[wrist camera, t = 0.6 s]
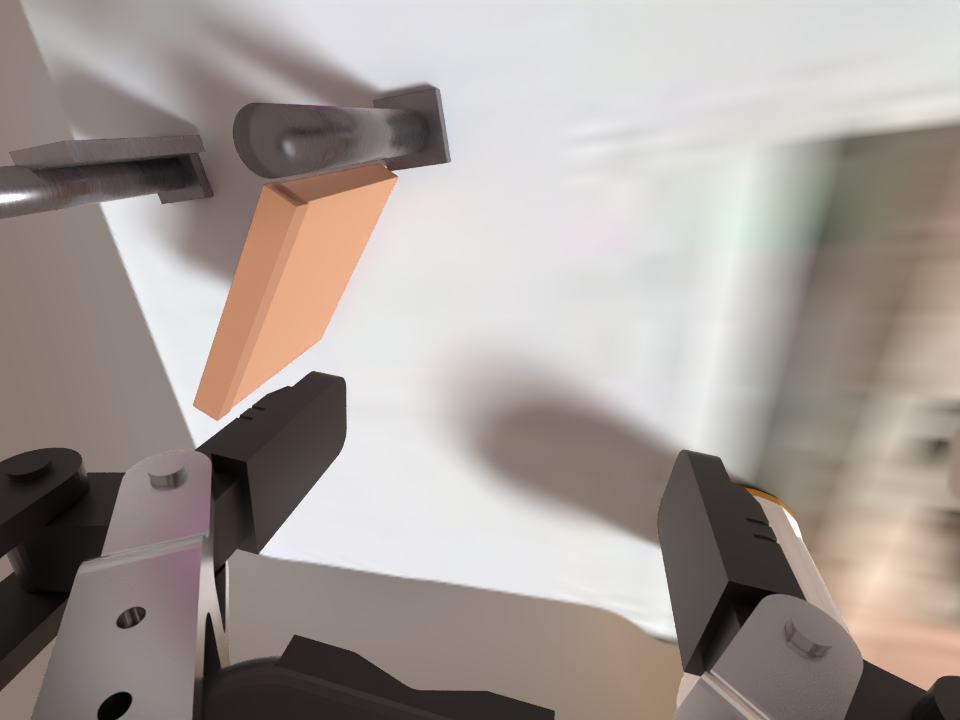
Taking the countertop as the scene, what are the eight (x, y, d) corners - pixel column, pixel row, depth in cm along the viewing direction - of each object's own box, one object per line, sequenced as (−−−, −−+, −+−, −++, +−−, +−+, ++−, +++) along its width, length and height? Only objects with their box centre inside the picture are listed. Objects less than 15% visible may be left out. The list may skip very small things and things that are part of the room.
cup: (637, 557, 41) (654, 815, 26) (681, 457, 35) (736, 708, 20) (775, 597, 39) (880, 896, 24) (843, 497, 34) (1034, 804, 19)
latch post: (214, 132, 33) (-18, 140, 20) (235, 193, 34) (31, 233, 22) (147, 145, 34) (-105, 159, 22) (170, 202, 36) (-53, 245, 24)
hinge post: (439, 89, 28) (295, 64, 15) (450, 161, 30) (329, 195, 17) (378, 101, 29) (195, 86, 16) (392, 170, 31) (237, 207, 18)
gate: (378, 162, 29) (263, 184, 20) (399, 177, 29) (296, 206, 20) (304, 328, 36) (192, 405, 26) (322, 339, 36) (217, 421, 27)
